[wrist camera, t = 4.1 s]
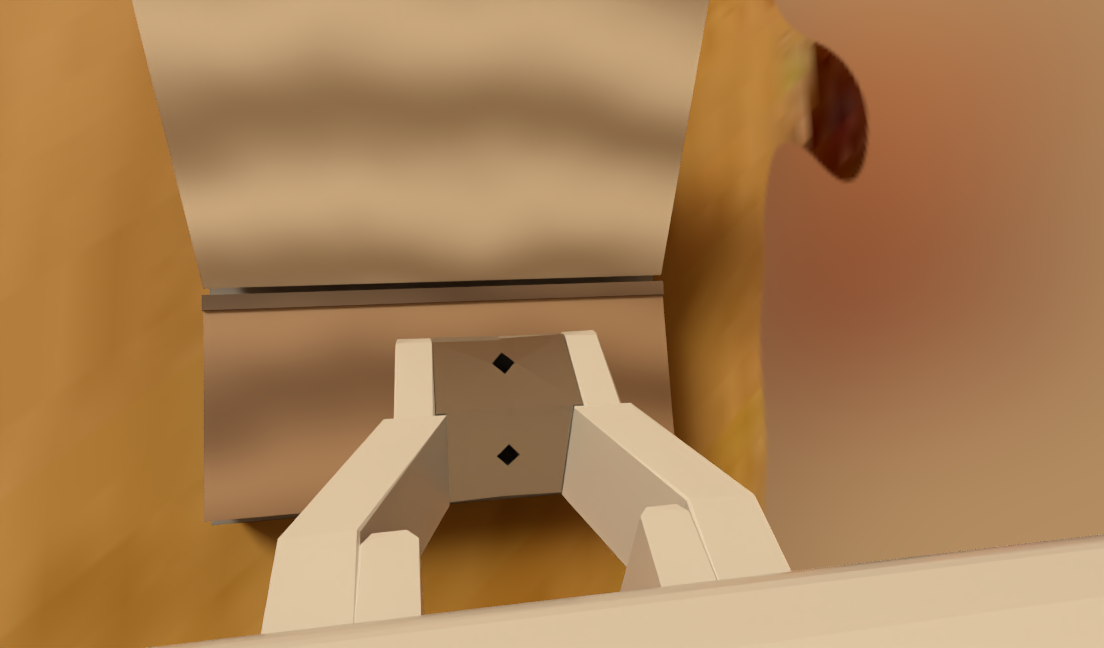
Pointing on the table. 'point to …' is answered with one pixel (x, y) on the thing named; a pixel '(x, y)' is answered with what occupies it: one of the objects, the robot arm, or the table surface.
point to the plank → (423, 135)
